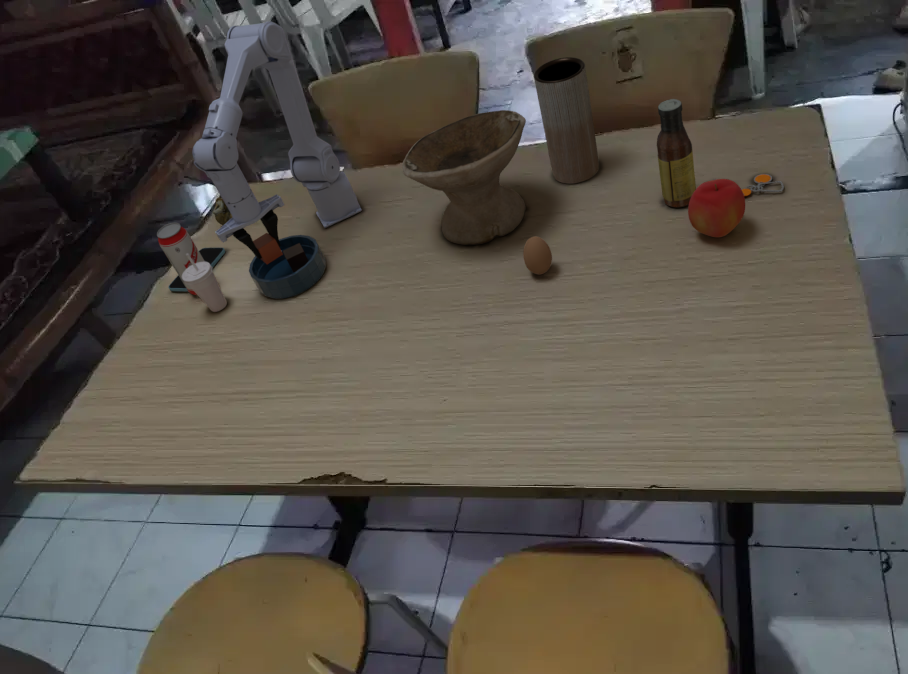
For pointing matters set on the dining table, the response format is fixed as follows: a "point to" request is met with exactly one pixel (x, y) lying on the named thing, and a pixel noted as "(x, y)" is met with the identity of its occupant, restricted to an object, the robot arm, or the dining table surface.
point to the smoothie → (204, 284)
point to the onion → (222, 212)
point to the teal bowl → (289, 270)
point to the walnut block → (295, 257)
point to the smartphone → (208, 255)
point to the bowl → (471, 174)
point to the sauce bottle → (675, 156)
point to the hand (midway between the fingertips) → (268, 250)
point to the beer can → (178, 248)
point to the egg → (537, 255)
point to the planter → (567, 119)
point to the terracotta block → (267, 248)
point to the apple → (716, 207)
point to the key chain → (761, 180)
